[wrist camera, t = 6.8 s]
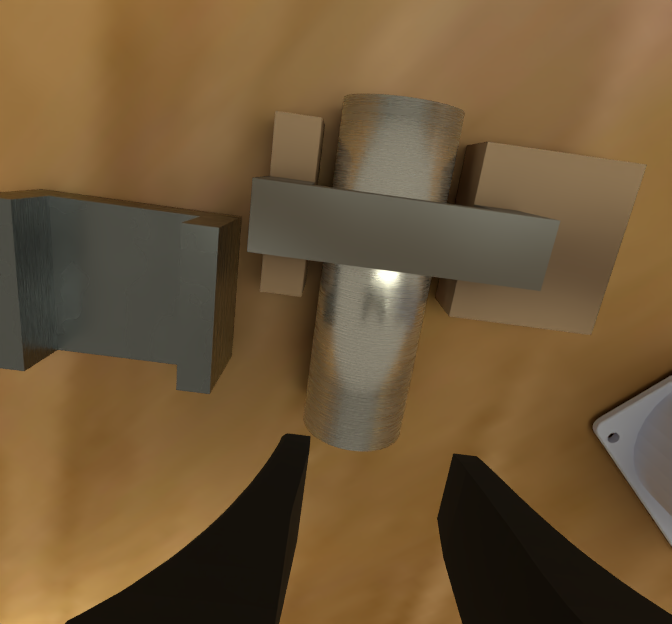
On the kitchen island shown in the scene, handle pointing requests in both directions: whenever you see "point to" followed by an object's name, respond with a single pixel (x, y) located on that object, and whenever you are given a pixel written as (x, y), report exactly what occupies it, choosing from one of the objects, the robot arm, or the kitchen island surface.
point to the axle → (376, 273)
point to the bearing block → (455, 228)
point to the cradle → (117, 282)
